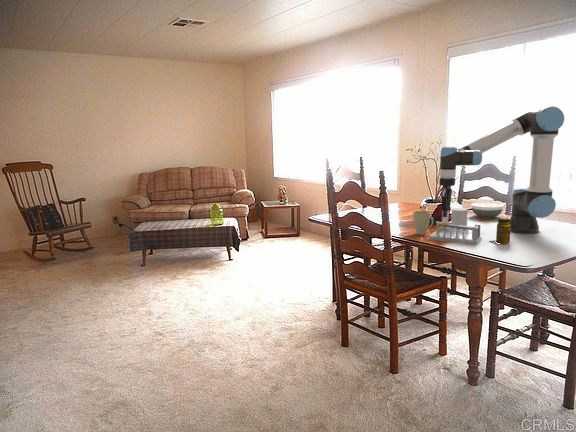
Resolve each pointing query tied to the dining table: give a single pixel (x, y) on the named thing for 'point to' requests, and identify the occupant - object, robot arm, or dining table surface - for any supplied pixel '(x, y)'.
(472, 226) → the grey bar
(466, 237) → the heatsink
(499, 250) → the dining table surface
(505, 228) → the condiment
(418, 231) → the mug
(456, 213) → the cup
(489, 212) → the bowl
